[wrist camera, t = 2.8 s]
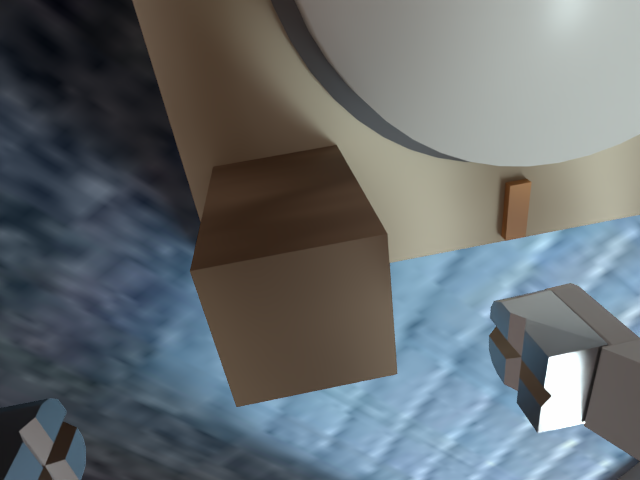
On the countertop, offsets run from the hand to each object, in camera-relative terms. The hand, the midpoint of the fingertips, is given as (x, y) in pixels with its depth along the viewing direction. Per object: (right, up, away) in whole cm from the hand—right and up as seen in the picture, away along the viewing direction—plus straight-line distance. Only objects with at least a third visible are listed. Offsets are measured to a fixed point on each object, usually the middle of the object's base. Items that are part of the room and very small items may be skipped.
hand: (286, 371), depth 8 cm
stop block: (0, +3, +5) cm, 6 cm away
